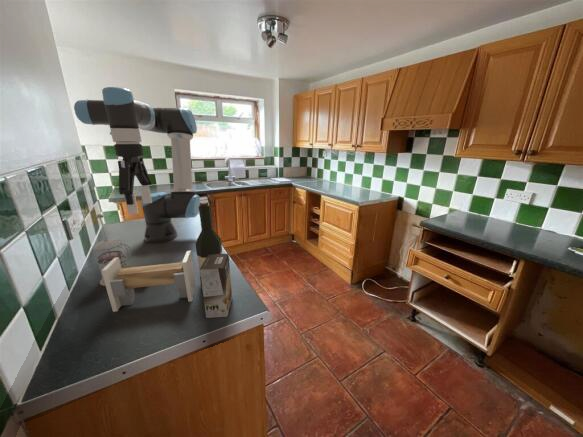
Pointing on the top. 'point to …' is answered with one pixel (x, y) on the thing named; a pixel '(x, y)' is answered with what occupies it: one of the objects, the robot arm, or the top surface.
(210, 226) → the wine bottle
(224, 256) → the coffee box
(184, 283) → the brackets
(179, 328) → the top surface
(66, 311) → the top surface
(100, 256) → the french press
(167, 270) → the rail
